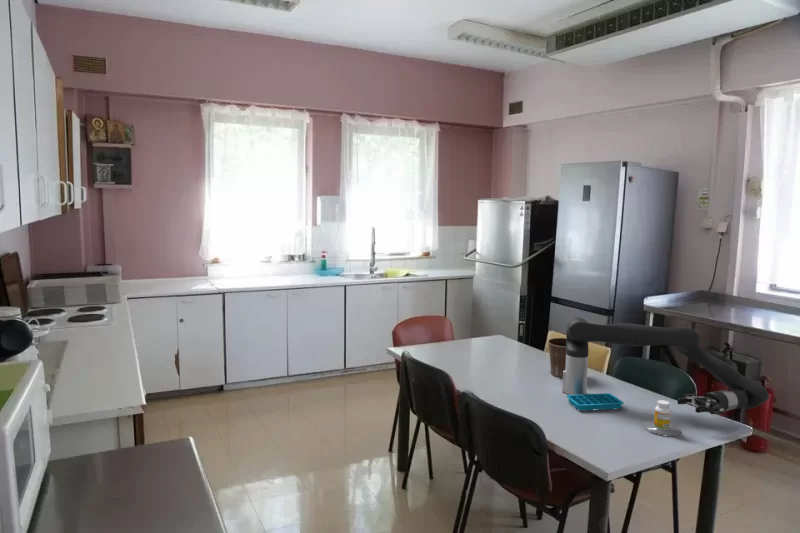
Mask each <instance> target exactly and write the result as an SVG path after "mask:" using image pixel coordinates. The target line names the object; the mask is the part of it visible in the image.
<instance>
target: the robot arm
mask: <svg viewBox="0 0 800 533" xmlns="http://www.w3.org/2000/svg"><path fill="white" fill-rule="evenodd" d="M565 335H566V337H565V338H566V366H565V370H564V371H563V378H562V390H561V391H562V393H565V394H566V395H580V394H587V391H588V390H587V386H588V384H587V383H588V369H589V368H588V367H589V349H590V348H589V342H591V343H593V342H595V343H596V342H598V343H599V342H600V343H608V344H613V345H615V344H616V345H622V346H629V347H630V346H631V347H648V346H649V347H651V346H669V347H670V346H671V347H672V348H674V350H675V351H677V352H679V353H680V354H682V355H684V356H685V357H687V358H689V359H690V360H692V361H693V362H694V363H696V364H698V365H699V366H700V367H701V368H704V369H705V370H706V371H708V373H709V374H711V375H712V376H714V377H715V378H716V379H718V380H719V381H720V382H721V383H722V384H724V386H726V387H727V388H729V390H726V389H725V390H724V389H723V390H717V391H716V390H715V391H709V392H707V393H706V394H704V395H703V396H701V395H700V396H698V395H697V393H685V394H682V397H679V398H677V405H687V404H688V405H691V406H695V411H694V412H695V413H697V414H700V413H707V414H708V413H710V415H717V414H723V413H724V412H727V411H732V410H735V409H745V410H751V409H756V408H757V407H758V406H760V405H762V404H764V403H765V402H766V401H768V399H769V397H770V395H769V392H768V389H766V387H764V386H763V385H762V384H760V383H758V382H756V381H754V380H753V379H750V378H748V377H746V376H744V375H742V374H741V373H740V372H739V371H737V370H736V369H735V368H733V366H731V365H729V364H728V363H727V362H725V361H723V360H721V359H719V358H717V357H716V356H714V355H712V354H711V353H709V352H707V351H706V350H704V349H703V348H702V347H701V345H699V344H700V342H701V336H700V334H699V333H698V332H697V331H696V330H695V329H693V328H690V327H663V326H662V327H661V326H656V325H655V326H652V325H645V324H639V323H638V324H636V323H628V322H627V323H626V322H618V323H611V324H598V323H591V322H588V321H587V320H586V319H585V318H583V317H580V316H577V317H573V318H571V319H569V321H568V323H567V325H566V334H565Z"/></svg>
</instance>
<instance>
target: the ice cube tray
mask: <svg viewBox="0 0 800 533" xmlns="http://www.w3.org/2000/svg"><path fill="white" fill-rule="evenodd" d="M566 398H567V399H568V403H569V402H570V403H571V404H572V405H573V406H572V405H571V404H570V403H569V404H570V405H571V406H572V407H574V406H575V407H576V408H577V409H579V410H592V411H594V410H593V409H612V410H615V409H614V408H620V409H621V408H622V405H624V404H625V403H624V401H623V400H622V399H619V398H618V397H617V396H615V395H614V394H613V393H609V392H608V393H606V392H605V393H602V392H601V393H586V394H580V395H568V394H566ZM575 407H574V408H575ZM576 408H575V409H576ZM577 409H576V410H577ZM579 410H578V411H579Z"/></svg>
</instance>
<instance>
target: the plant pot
mask: <svg viewBox="0 0 800 533" xmlns="http://www.w3.org/2000/svg"><path fill="white" fill-rule="evenodd" d="M547 344H548V350H549V362H550V363H549V364H550V374H551V376H553V377H556V378H559V379H560V378H561V379H563V371H564V370H565V366H566V337H554V338H550V339H548V340H547Z"/></svg>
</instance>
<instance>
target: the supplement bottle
mask: <svg viewBox="0 0 800 533" xmlns="http://www.w3.org/2000/svg"><path fill="white" fill-rule="evenodd" d="M670 407H671V406H670V402H669V401H667V400H664V399H662V400H657V405H656V406H655V408H654V418H653V421H654V426H655V427H656V428H657V429H661V430H669V429H670V424H671V418H672V409H671V408H670Z"/></svg>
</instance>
